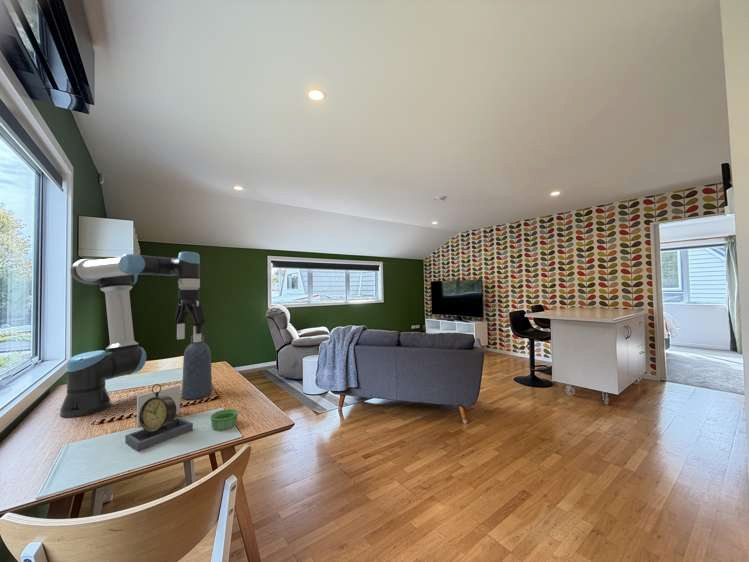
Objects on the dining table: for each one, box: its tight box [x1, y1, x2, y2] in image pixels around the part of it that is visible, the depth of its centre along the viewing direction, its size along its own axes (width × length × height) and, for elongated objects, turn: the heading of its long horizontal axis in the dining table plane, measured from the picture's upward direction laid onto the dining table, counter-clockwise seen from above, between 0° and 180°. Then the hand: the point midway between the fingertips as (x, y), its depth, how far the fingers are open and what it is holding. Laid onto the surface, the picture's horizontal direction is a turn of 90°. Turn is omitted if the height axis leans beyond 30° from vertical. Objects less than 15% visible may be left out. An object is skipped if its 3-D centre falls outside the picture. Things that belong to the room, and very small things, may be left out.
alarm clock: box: [139, 383, 177, 437], centre depth 102 cm, size 11×5×16 cm, turn 83°
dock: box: [124, 416, 194, 453], centre depth 100 cm, size 10×16×2 cm, turn 148°
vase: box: [181, 334, 213, 400], centre depth 140 cm, size 12×12×28 cm
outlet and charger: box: [136, 384, 181, 427], centre depth 111 cm, size 12×14×11 cm
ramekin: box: [210, 408, 239, 432], centre depth 108 cm, size 9×9×4 cm
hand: (188, 340), depth 123 cm, fingers open, 13 cm apart
